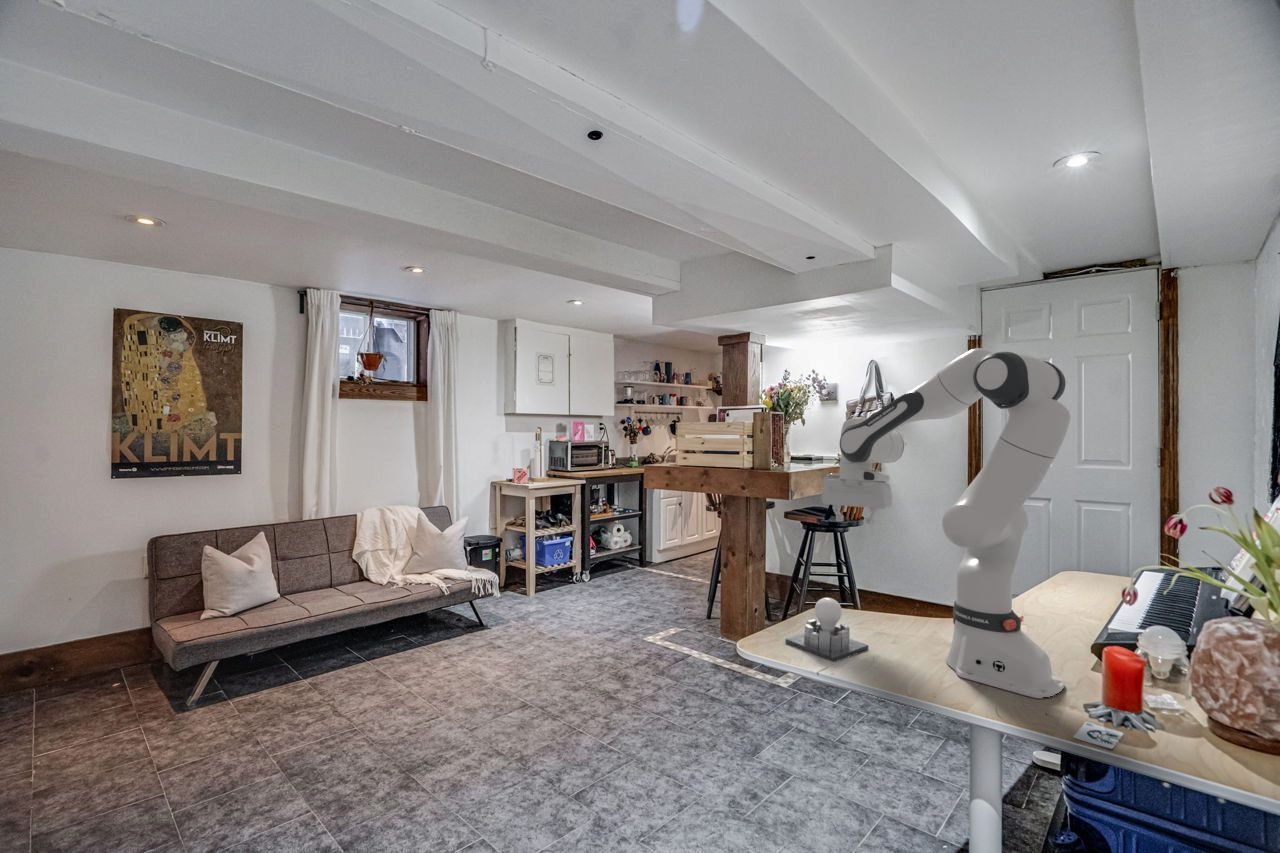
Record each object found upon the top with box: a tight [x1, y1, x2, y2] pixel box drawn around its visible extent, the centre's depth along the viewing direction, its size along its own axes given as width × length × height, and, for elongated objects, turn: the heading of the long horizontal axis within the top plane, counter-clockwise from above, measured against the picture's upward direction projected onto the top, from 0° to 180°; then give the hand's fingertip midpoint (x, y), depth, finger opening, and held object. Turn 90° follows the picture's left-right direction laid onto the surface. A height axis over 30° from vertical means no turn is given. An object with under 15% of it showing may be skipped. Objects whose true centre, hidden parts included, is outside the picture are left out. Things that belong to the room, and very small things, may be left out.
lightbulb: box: [814, 597, 842, 636], centre depth 147 cm, size 6×6×11 cm
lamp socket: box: [785, 618, 869, 663], centre depth 147 cm, size 14×14×5 cm
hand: (854, 522), depth 169 cm, fingers open, 8 cm apart
